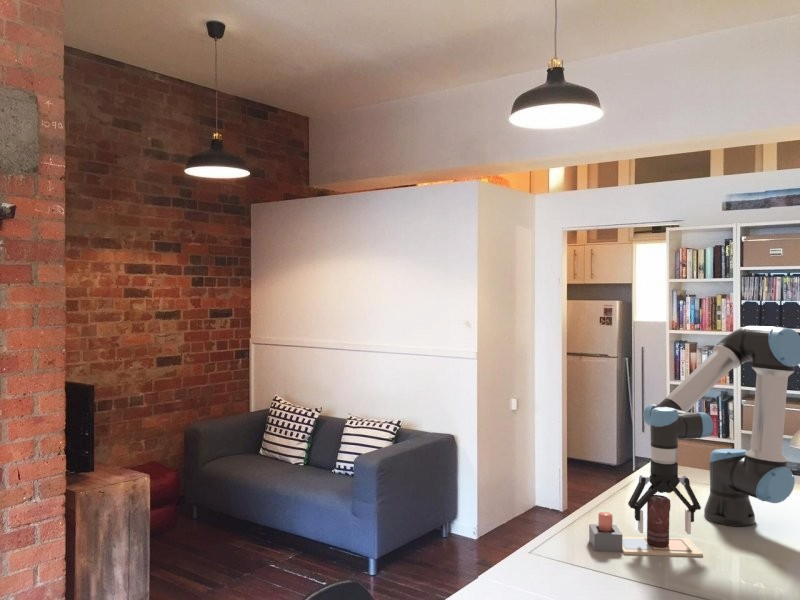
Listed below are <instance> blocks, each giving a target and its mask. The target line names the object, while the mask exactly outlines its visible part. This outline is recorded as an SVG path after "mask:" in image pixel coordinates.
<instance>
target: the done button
mask: <svg viewBox="0 0 800 600" xmlns="http://www.w3.org/2000/svg"><path fill="white" fill-rule="evenodd" d="M597 514H598V517H597V518H598V523H597V525H598V529H599V530H600V531H604V532H610V531H612V525H613V514H612V513H611V512H607V511H601V512H598V513H597Z"/></svg>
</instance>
